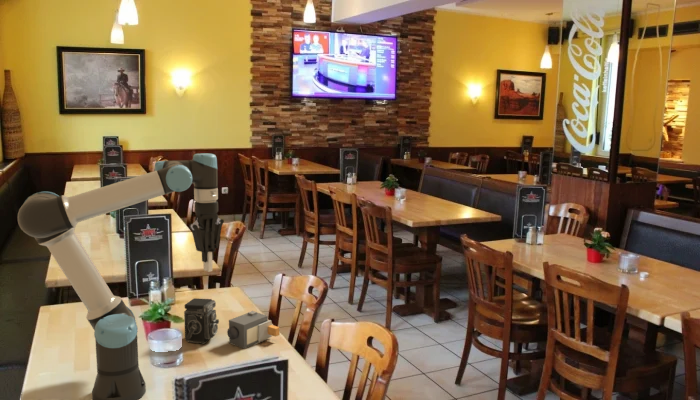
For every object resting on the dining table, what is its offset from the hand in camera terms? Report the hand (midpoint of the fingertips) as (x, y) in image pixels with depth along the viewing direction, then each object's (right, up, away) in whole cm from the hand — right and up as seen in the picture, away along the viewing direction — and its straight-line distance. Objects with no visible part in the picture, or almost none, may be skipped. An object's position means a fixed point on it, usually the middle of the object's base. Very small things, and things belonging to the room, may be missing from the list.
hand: (208, 270), depth 198 cm
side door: (+17, -29, +22) cm, 40 cm away
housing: (+10, -29, +24) cm, 39 cm away
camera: (-8, -29, +24) cm, 38 cm away
